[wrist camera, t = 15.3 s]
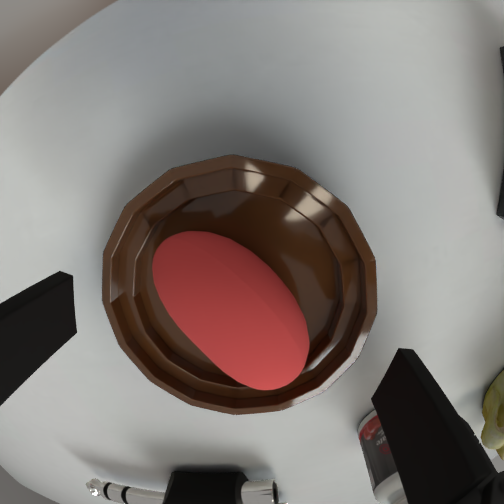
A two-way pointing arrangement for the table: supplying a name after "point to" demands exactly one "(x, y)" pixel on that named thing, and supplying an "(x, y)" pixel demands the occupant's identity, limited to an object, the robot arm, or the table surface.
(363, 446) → the pill bottle
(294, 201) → the plate
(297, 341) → the stress ball
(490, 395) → the mug
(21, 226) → the table surface
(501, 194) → the bin
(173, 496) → the audio adapter
